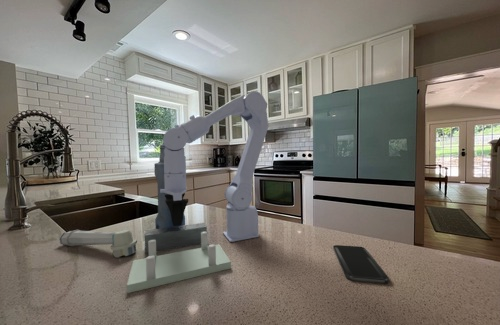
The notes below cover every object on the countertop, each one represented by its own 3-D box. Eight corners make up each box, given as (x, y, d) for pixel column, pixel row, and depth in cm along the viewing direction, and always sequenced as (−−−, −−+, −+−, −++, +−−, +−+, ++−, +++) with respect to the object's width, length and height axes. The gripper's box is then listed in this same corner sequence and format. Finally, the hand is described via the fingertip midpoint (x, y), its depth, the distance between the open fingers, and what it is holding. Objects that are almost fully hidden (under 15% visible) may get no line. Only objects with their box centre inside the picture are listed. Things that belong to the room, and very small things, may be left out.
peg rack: (219, 249, 55) (218, 229, 55) (231, 268, 46) (230, 244, 46) (133, 266, 47) (132, 242, 47) (127, 293, 38) (125, 264, 38)
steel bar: (204, 238, 63) (204, 222, 63) (207, 243, 60) (206, 226, 60) (146, 248, 58) (145, 230, 57) (145, 254, 54) (144, 235, 54)
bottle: (157, 225, 76) (154, 143, 75) (185, 222, 79) (183, 143, 78) (153, 234, 67) (150, 141, 66) (185, 230, 70) (183, 141, 69)
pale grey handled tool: (76, 228, 64) (139, 224, 56) (79, 249, 63) (142, 248, 55) (55, 234, 59) (121, 230, 51) (58, 257, 58) (125, 258, 50)
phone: (347, 277, 41) (332, 244, 56) (347, 282, 41) (332, 248, 56) (391, 281, 39) (364, 246, 54) (391, 286, 39) (364, 250, 54)
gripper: (159, 171, 63) (160, 216, 63) (159, 175, 50) (161, 232, 50) (184, 171, 66) (184, 213, 66) (190, 174, 53) (191, 227, 53)
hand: (176, 221), depth 58 cm, fingers open, 7 cm apart
